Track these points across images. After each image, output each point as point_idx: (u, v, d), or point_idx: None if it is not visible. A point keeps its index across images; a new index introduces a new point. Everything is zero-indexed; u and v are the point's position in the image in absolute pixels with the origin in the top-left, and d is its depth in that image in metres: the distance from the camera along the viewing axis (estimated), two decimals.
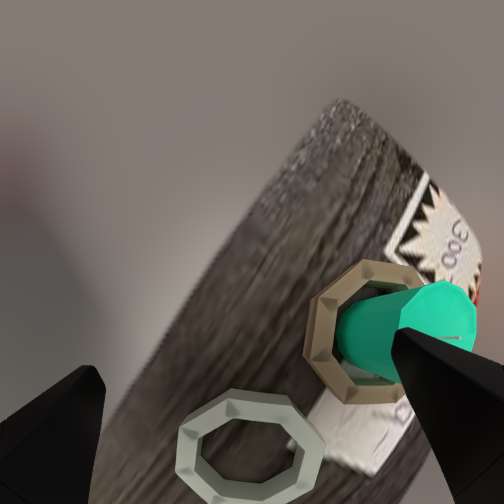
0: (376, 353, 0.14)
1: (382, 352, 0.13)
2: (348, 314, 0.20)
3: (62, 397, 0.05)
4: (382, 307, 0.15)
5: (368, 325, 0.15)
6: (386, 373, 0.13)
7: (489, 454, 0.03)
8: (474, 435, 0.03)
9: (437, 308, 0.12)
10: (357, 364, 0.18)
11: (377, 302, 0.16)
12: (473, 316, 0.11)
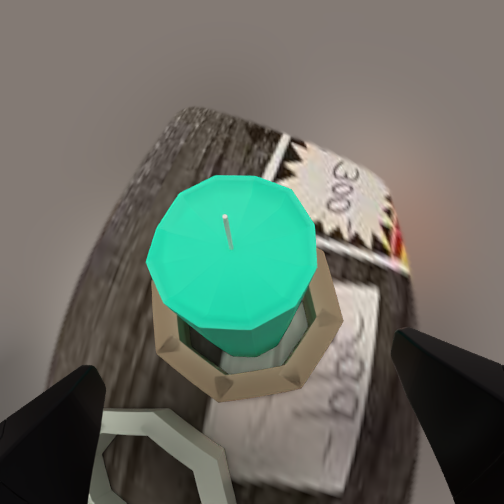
0: None
1: None
2: None
3: (62, 397, 0.05)
4: None
5: None
6: (198, 330, 0.11)
7: (489, 454, 0.03)
8: (473, 436, 0.03)
9: (220, 212, 0.10)
10: (222, 348, 0.15)
11: None
12: (292, 201, 0.10)
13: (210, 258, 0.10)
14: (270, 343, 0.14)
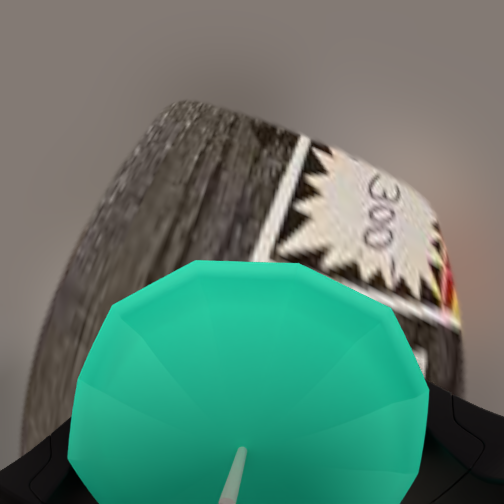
0: None
1: None
2: None
3: None
4: None
5: None
6: None
7: (427, 493, 0.03)
8: None
9: (213, 359, 0.04)
10: None
11: None
12: (392, 341, 0.03)
13: (196, 469, 0.03)
14: None
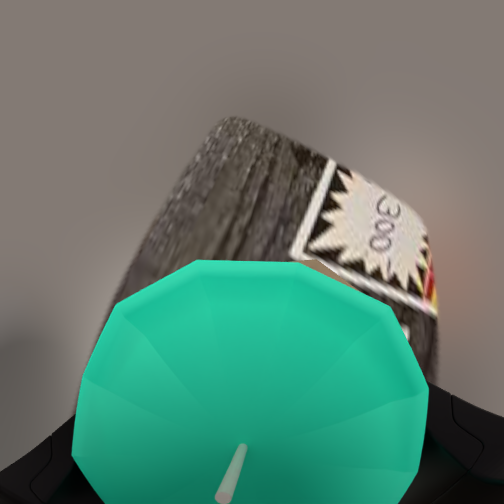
0: None
1: None
2: None
3: None
4: None
5: None
6: None
7: (426, 494, 0.03)
8: None
9: (214, 357, 0.04)
10: None
11: None
12: (392, 339, 0.03)
13: (198, 466, 0.03)
14: None
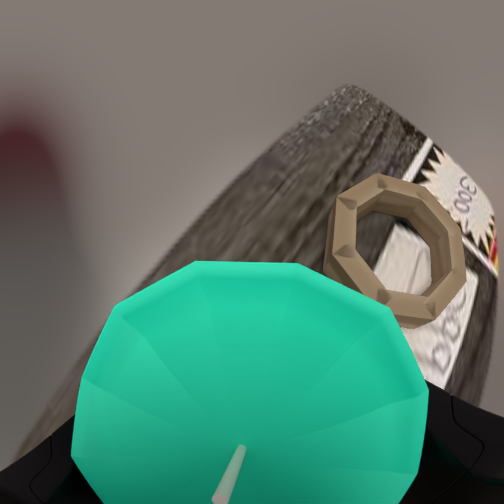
0: None
1: None
2: None
3: None
4: None
5: None
6: None
7: (426, 494, 0.03)
8: None
9: (213, 358, 0.04)
10: None
11: None
12: (391, 340, 0.03)
13: (197, 467, 0.03)
14: None
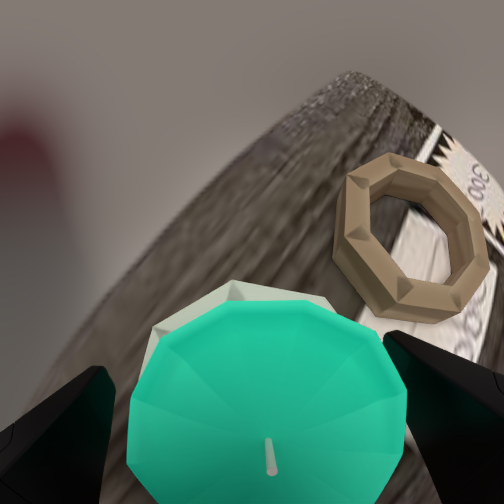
0: None
1: None
2: None
3: (73, 399, 0.05)
4: None
5: None
6: None
7: (477, 462, 0.03)
8: (462, 443, 0.03)
9: (243, 373, 0.05)
10: None
11: None
12: (377, 355, 0.05)
13: (234, 459, 0.04)
14: None
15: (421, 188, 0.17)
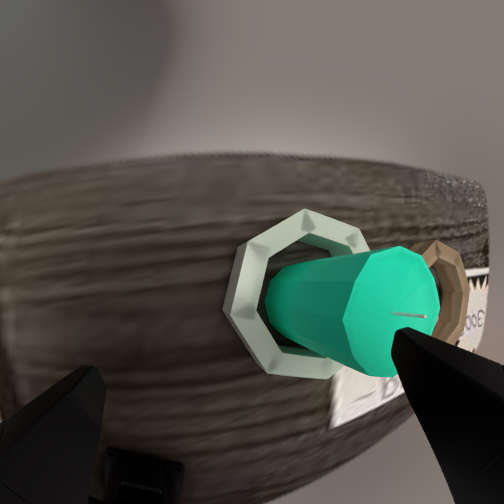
0: (317, 300, 0.13)
1: (327, 298, 0.12)
2: (293, 265, 0.19)
3: (62, 397, 0.05)
4: (342, 257, 0.14)
5: (318, 271, 0.14)
6: (318, 330, 0.12)
7: (489, 454, 0.03)
8: (474, 435, 0.03)
9: (404, 282, 0.11)
10: (280, 321, 0.17)
11: (335, 257, 0.15)
12: (435, 315, 0.11)
13: (381, 310, 0.11)
14: None
15: (452, 286, 0.24)
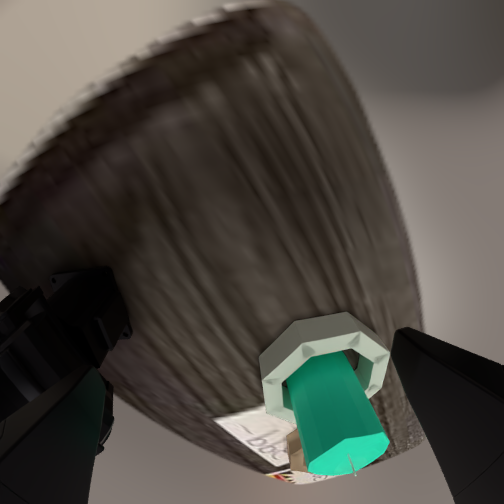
0: (343, 410, 0.16)
1: (349, 418, 0.15)
2: (345, 358, 0.22)
3: (62, 397, 0.05)
4: (370, 406, 0.16)
5: (357, 395, 0.17)
6: (323, 418, 0.16)
7: (489, 454, 0.03)
8: (474, 436, 0.03)
9: (366, 450, 0.15)
10: (304, 371, 0.21)
11: (365, 394, 0.18)
12: (348, 472, 0.15)
13: (349, 448, 0.14)
14: (292, 402, 0.20)
15: None
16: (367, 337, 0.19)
